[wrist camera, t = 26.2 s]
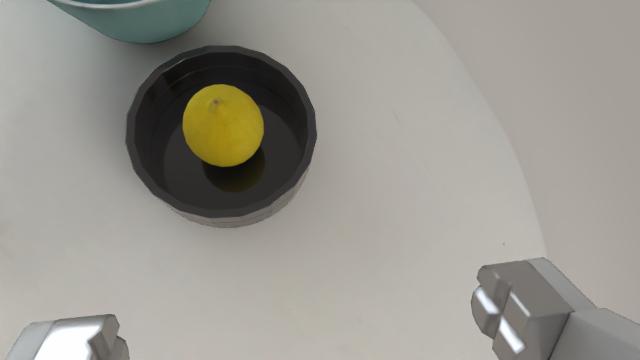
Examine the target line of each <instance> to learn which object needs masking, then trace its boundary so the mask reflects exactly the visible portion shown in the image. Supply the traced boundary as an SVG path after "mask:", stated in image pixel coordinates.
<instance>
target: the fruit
mask: <svg viewBox="0 0 640 360" xmlns="http://www.w3.org/2000/svg"><path fill="white" fill-rule="evenodd" d="M183 132H184V136H185V139H186V143H187V144H188V146H189V147H190V148H191V150H192V151H193V153H194V154H195V155H196V156H198V157H199V158H201V159H202V160H204V161H205V162H207V163H209V164H211V165H216V166H220V167H228V166H235V165H238V164H241V163H243V162H245V161H246V160H248V159H249V158H250V157H252V156H253V154H254V153H255V152H256V150H257V149H258V148H259V146H260V143H261V140H262V137H263V134H264V122H263V118H262V115H261V112H260V109H259V108H258V106H257V105H256V104H255V102H254V101H253V100H252V98H251V97H250V96H248V95H247V94H246V93H244V92H243V91H241V90H239V89H238V88H236V87H233V86H229V85H224V84H220V85H212V86H208V87H205V88H203V89H202V90H200V91H199V92H197V93H196V94H195V95H194V96H193V97H192V98H191V100H190V101H189V103H188V105H187V107H186V109H185V112H184V116H183Z"/></svg>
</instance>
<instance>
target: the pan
mask: <svg viewBox="0 0 640 360" xmlns="http://www.w3.org/2000/svg"><path fill="white" fill-rule="evenodd" d="M220 84H224V85H229V86H233V87H236V88H238V89H239V90H241V91H243V92H244V93H246V94H247V95H248V96H250V97H251V98H252V100H253V101H254V102H255V104H256V105H257V106H258V108H259V109H260V112H261V115H262V118H263V122H264V134H263V137H262V140H261V143H260V146H259V148H258V149H257V150H256V152H255V153H254V154H253V156H252V157H250V158H249V159H248V160H246V161H245V162H243V163H241V164H238V165H235V166H228V167H220V166H216V165H211V164H209V163H207V162H205V161H204V160H202V159H201V158H199V157H198V156H196V155H195V154H194V153H193V151H192V150H191V148H190V147H189V146H188V144H187V143H186V139H185V136H184V132H183V116H184V112H185V109H186V107H187V105H188V103H189V101H190V100H191V98H192V97H193V96H194V95H195V94H196V93H197V92H199V91H200V90H202V89H203V88H205V87H208V86H212V85H220ZM316 139H317V131H316V120H315V111H314V108H313V106H312V104H311V101H310V99H309V97H308V95H307V92H306V90H305V88H304V86H303V85H302V84H301V83H300V82H299V81H298V80H297V78H296V77H295V76H294V75H293V74H292V73H291V72H290V71H289V70H288V68H287V67H285V66H284V65H282V64H280V63H279V62H277V61H275V60H274V59H272V58H271V57H269V56H267V55H266V54H264V53H261V52H257V51H254V50H250V49H246V48H243V47H239V46H205V47H202V48H198V49H195V50H191V51H187V52H184V53H181V54H179V55H177V56H176V57H174V58H172V59H171V60H169V61H167V62H166V63H164V64H162V65H161V66H159V67H157V68H156V69H155V70H154V71H153V73H152V74H151V75H150V76H149V77H148V78H147V79H146V80H145V82H144V83H143V84H142V85H141V86H140V87H139V88H138V90H137V92H136V95H135V97H134V99H133V102H132V104H131V106H130V109H129V111H128V113H127V120H126V139H125V143H126V147H127V150H128V153H129V156H130V159H131V163H132V166H133V169H134V170H135V172H136V174H137V175H138V176H139V178H140V179H141V180H142V181H143V183H144V184H145V185H146V186H147V188H148V189H149V190H150V192H151V193H152V194H153V195H154V196H156V197H157V198H158V199H159V200H160V201H162V202H163V203H164V204H165V205H167V206H168V207H169V208H171V209H172V210H174V211H176V212H177V213H179V214H180V215H181V216H183V217H185V218H187V219H188V220H190V221H193V222H196V223H199V224H202V225H206V226H211V227H219V228H236V227H242V226H247V225H251V224H254V223H257V222H260V221H262V220H264V219H266V218H268V217H270V216H272V215H273V214H275V213H276V212H278V211H279V210H280V209H282V208H283V207H284V206H285V205H286V204H287V203H288V202H289V201H290V200H291V199H292V198H293V197H294V196H295V194H296V193H297V191H298V190H299V188H300V187H301V185H302V183H303V181H304V180H305V178H306V175H307V172H308V169H309V166H310V162H311V158H312V154H313V151H314V147H315V143H316Z"/></svg>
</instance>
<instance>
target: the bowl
mask: <svg viewBox="0 0 640 360" xmlns="http://www.w3.org/2000/svg"><path fill="white" fill-rule="evenodd" d="M47 1H49V2H50V3H52V4H54V5H55V6H57V7H59V8H60V9H62V10H63V11H65V12H67V13H68V14H70V15H72V16H73V17H75V18H77V19H79V20H80V21H82V22H84V23H86V24H87V25H89V26H91V27H93V28H95V29H96V30H98V31H100V32H101V33H103V34H105V35H107V36H109V37H112V38H115V39H118V40H121V41H126V42H132V43H155V42H160V41H164V40H167V39H170V38H173V37H176V36H178V35H180V34H182V33H184V32H185V31H187V30H188V29H190V28H191V27H192V26H194V25H195V24H196V23H197V22H198V21H199V20H200V19H201V17H202V16H203V15H204V13H205V12H206V10H207V8H208V6H209V4H210V1H211V0H47Z"/></svg>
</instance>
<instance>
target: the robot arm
mask: <svg viewBox="0 0 640 360" xmlns="http://www.w3.org/2000/svg"><path fill="white" fill-rule="evenodd" d="M477 280H478V281H479V282H480V284H481V285H480V286H479V287H478V288H477V289H476V290H475V291H474V292H473V295H472V299H471V307H472V314H473V317H474V319H475V322H476V324H477V325H478V327H479V329H480V330H481V332H482V333H484V334H485V335H487V336H488V337H490V338H492V339H493V345H492V349H493V351H494V352H495V354H496V356H497V357H498V359H499V360H640V324H638V323H635V322H634V321H632V320H629V319H627V318H625V317H623V316H621V315H619V314H617V313H615V312H612V311H610V310H608V309H606V308H599V309H598V308H597V307H596V306H595V305H594V304H593V303H592V302H591V301H590V300H589V299H588V298H587V297H586V296H585V295H584V294H583V293H582V292H581V291H580V290H579V289H578V288H577V287H576V286H575V285H574V284H573V283H572V282H571V281H570V280H569V279H568V278H567V277H566V276H565V275H564V274H563V273H562V272H561V271H560V270H558V268H557V267H556V266H555V265H554V264H552V263H551V262H550V261H549V260H547V259H545V258H543V257H542V258H535V259H528V260H522V261H513V262H506V263H499V264H492V265H485V266H482V267H481V268H480V270H479V272H478V275H477ZM119 326H120V325H119V323H118V321H117V319H116V316H115V315H112V314H106V315H96V316H87V317H77V318H68V319H59V320H53V321H43V322H34V323H31V324H29V325H28V326H27V327H25V328H24V329H23V331H22V332H21V334H20V336H19V337H18V339H17V341H16V342H15V344H14V346H13V347H12V349H11V350H10V352H9V354H8V355H7V357H6V359H5V360H130V358H129V351H128V347H127V344H126V341H125V340H124V339H122V338H121V337H119V336H117V333H118V330H119Z"/></svg>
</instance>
